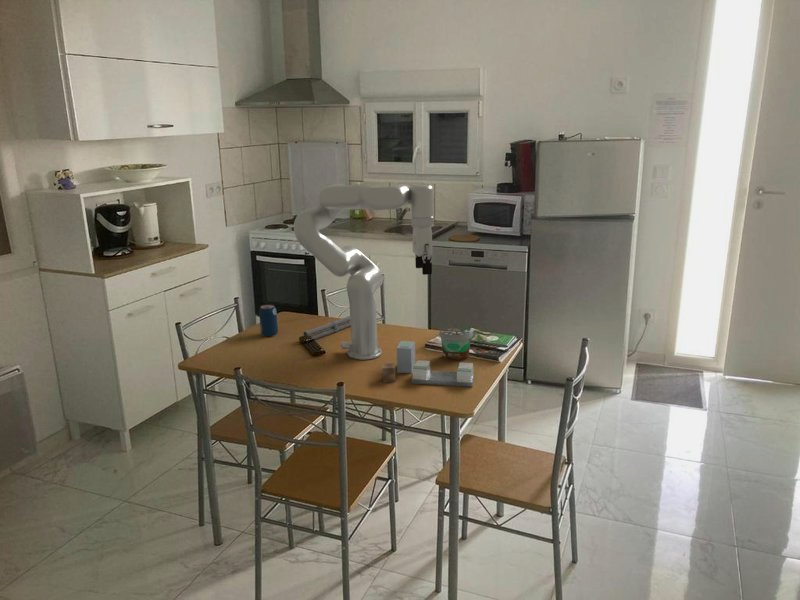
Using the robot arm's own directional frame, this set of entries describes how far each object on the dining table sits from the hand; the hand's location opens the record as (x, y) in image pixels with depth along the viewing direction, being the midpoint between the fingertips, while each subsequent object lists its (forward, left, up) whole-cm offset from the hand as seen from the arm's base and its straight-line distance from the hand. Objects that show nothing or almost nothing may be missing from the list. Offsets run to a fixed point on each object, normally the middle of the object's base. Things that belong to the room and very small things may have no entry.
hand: (423, 271), depth 226 cm
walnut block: (-9, -19, -33) cm, 39 cm away
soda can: (-67, +19, -33) cm, 77 cm away
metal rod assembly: (-43, +23, -33) cm, 59 cm away
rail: (+9, -17, -33) cm, 38 cm away
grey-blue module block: (-5, -9, -33) cm, 35 cm away
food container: (+11, +3, -33) cm, 35 cm away
